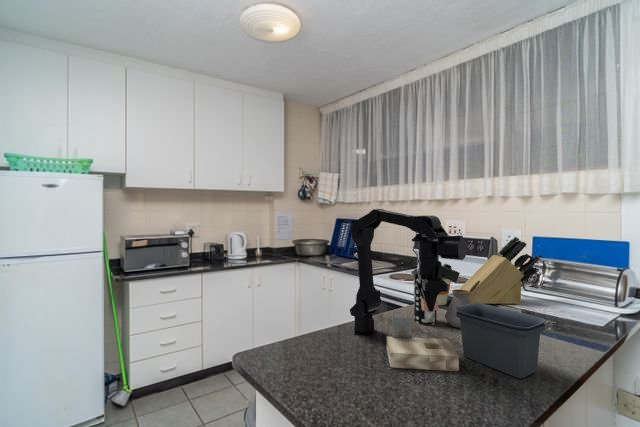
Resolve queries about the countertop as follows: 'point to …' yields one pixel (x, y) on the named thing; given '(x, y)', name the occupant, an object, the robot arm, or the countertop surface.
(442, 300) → the reusable coffee cup
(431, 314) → the peg
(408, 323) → the latch flap
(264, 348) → the countertop surface
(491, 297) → the knife block
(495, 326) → the storage bin
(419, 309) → the white-spotted black cylinder
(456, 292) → the coffee pot
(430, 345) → the block
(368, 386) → the countertop surface
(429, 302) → the robot arm
